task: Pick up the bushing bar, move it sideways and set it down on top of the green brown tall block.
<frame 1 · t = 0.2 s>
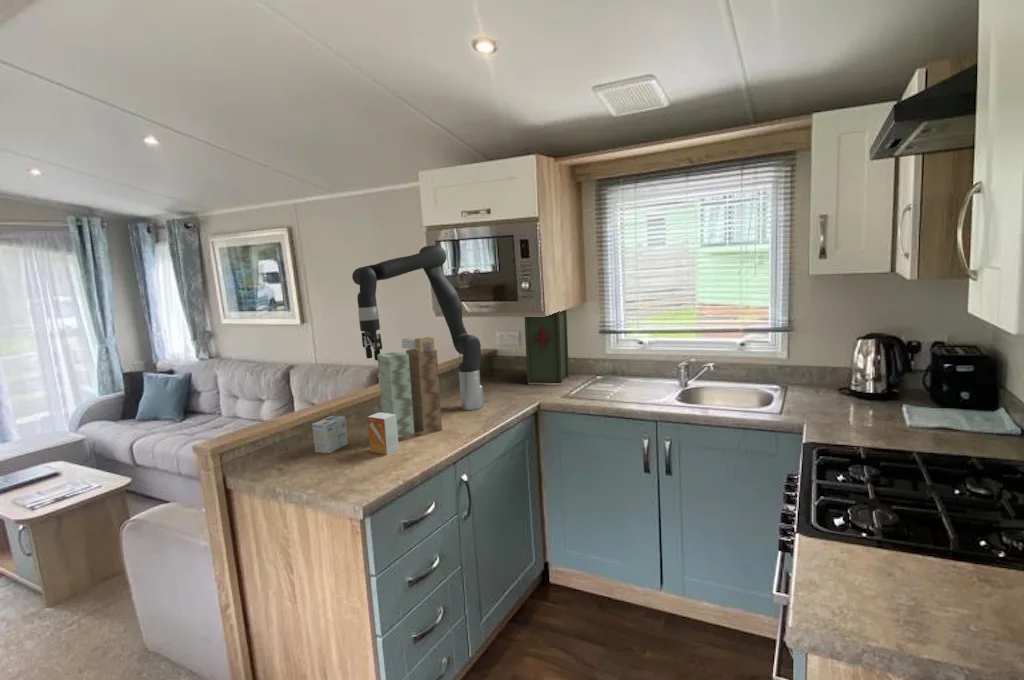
hand: (373, 359, 213), 29 cm above the worktop, tool pointing down, fingers open, 8 cm apart
first aid box: (548, 381, 290), on the worktop
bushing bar: (416, 349, 212), point 32 cm above the worktop, touching green brown tall block
green brown tall block: (413, 433, 210), on the worktop
small box: (384, 451, 191), on the worktop
light bulb box: (331, 448, 196), on the worktop
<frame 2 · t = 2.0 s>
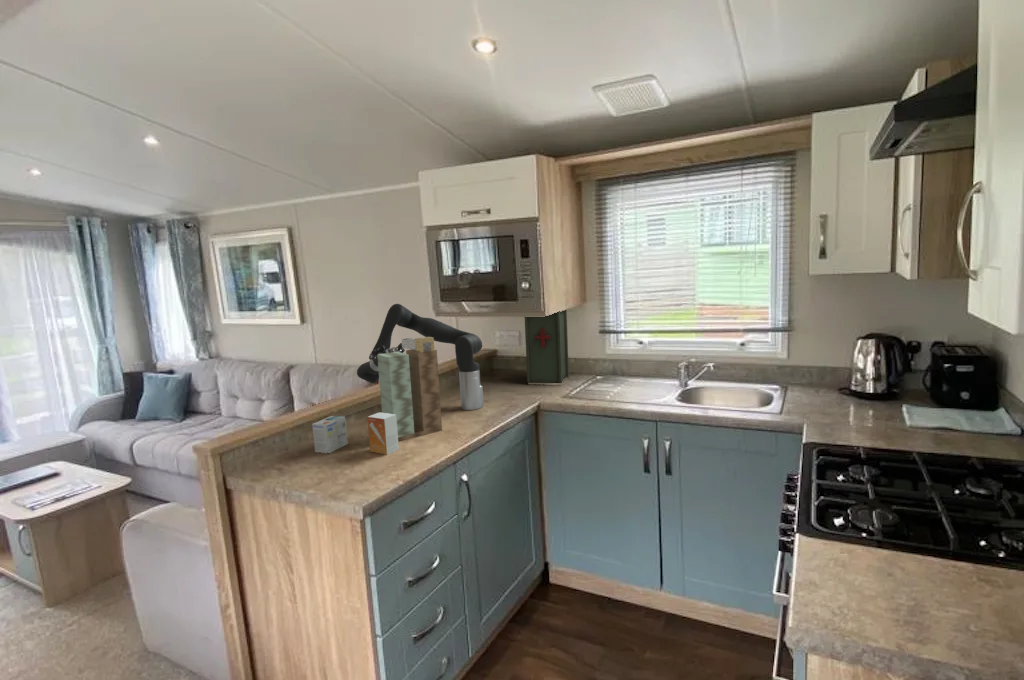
hand: (393, 346, 231), 31 cm above the worktop, tool pointing upward, fingers open, 8 cm apart
nothing on the worktop moved.
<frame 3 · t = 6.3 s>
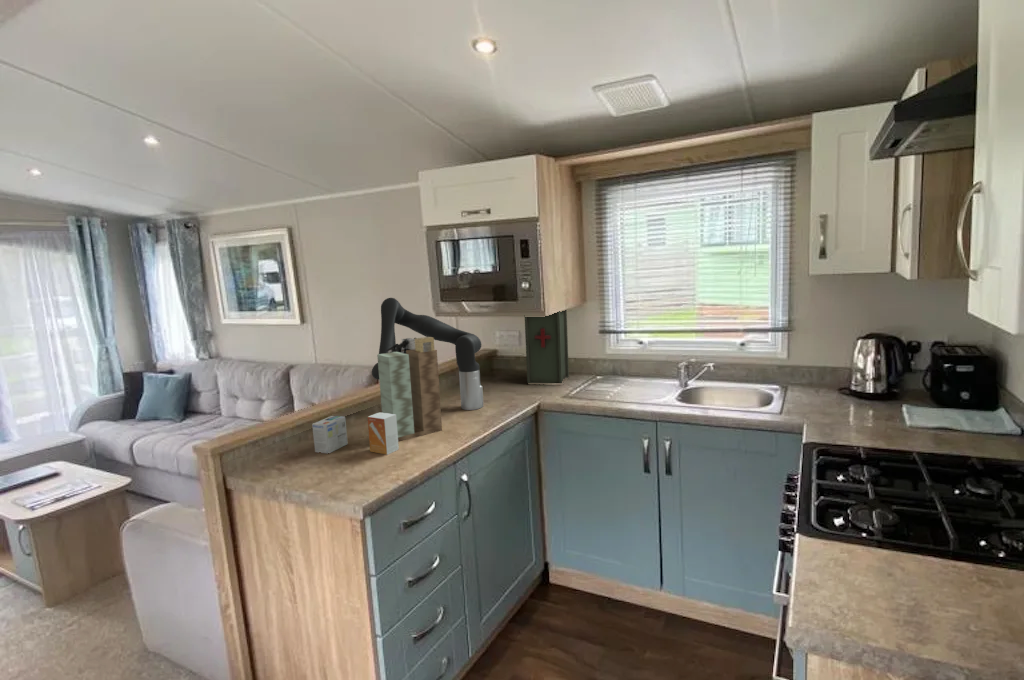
hand: (411, 340, 214), 35 cm above the worktop, tool pointing upward, fingers closed on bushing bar, 3 cm apart
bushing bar: (416, 349, 212), point 32 cm above the worktop, touching gripper, green brown tall block
everything else where it was.
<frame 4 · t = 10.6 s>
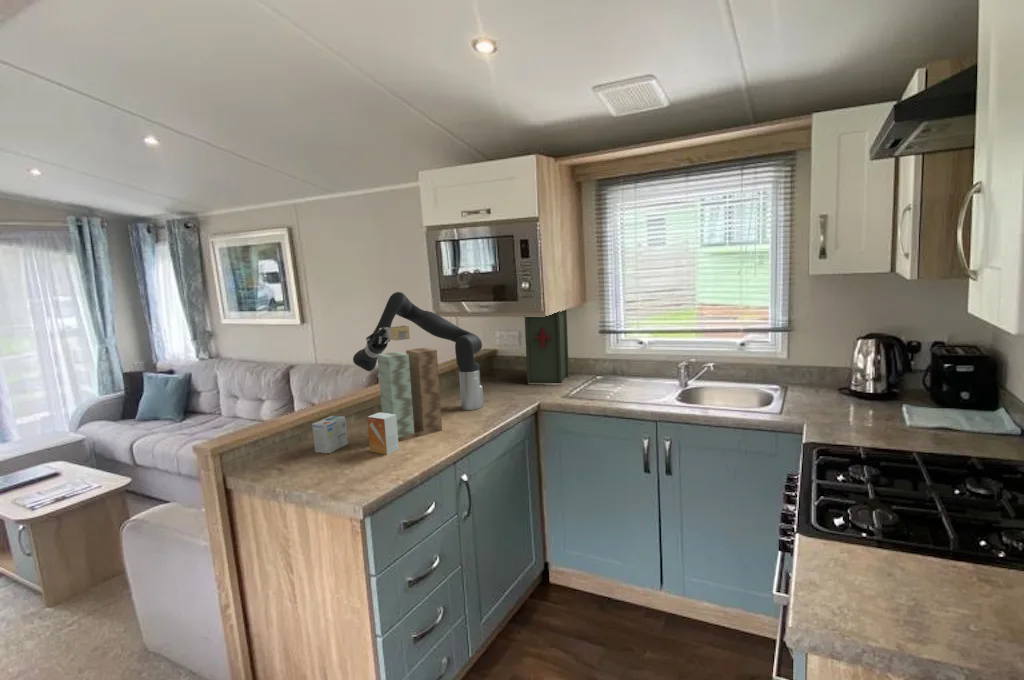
hand: (388, 329, 222), 39 cm above the worktop, tool pointing upward, fingers closed on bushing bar, 3 cm apart
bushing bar: (393, 337, 220), point 36 cm above the worktop, touching gripper
everything else where it was.
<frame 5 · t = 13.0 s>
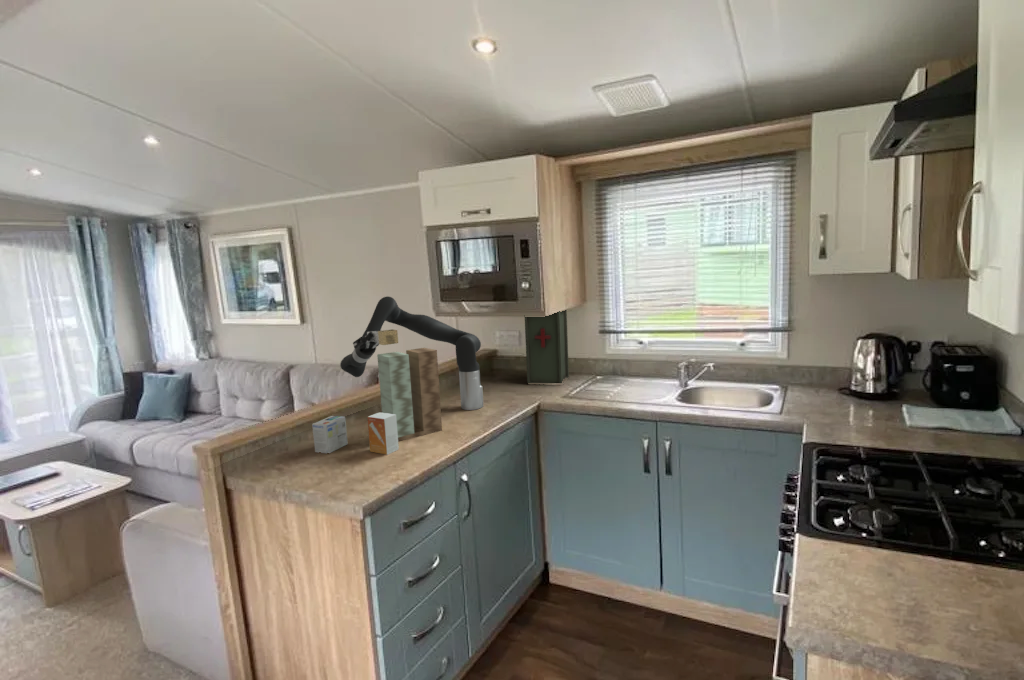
hand: (376, 333, 211), 39 cm above the worktop, tool pointing upward, fingers closed on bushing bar, 3 cm apart
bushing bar: (381, 342, 209), point 36 cm above the worktop, touching gripper
everything else where it was.
when the fingers open (37 cm above the worktop, at t = 15.2 s): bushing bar drops 1 cm, resting on green brown tall block.
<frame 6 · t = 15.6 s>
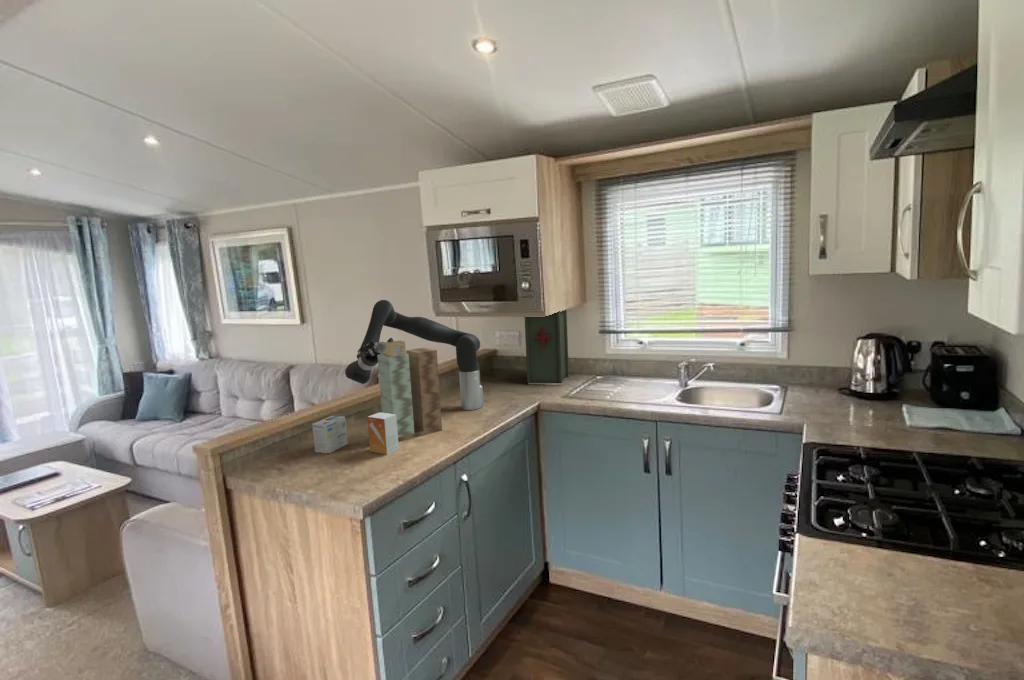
hand: (382, 341, 207), 36 cm above the worktop, tool pointing upward, fingers open, 7 cm apart
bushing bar: (388, 353, 205), point 32 cm above the worktop, touching green brown tall block
everything else where it was.
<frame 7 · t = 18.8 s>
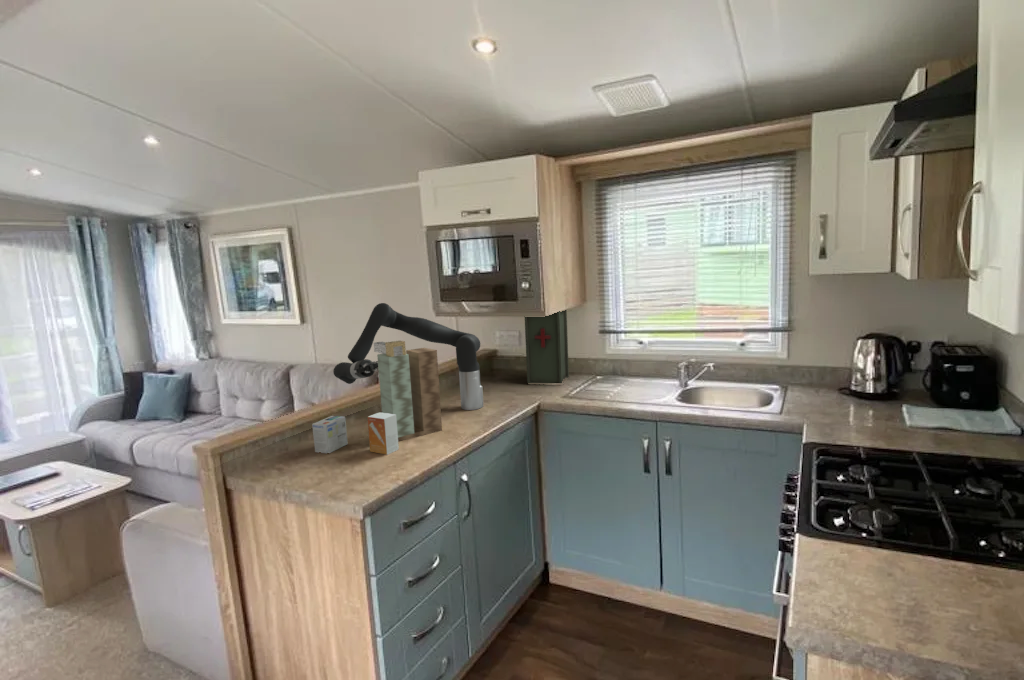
hand: (380, 364, 217), 26 cm above the worktop, tool horizontal, fingers open, 8 cm apart
nothing on the worktop moved.
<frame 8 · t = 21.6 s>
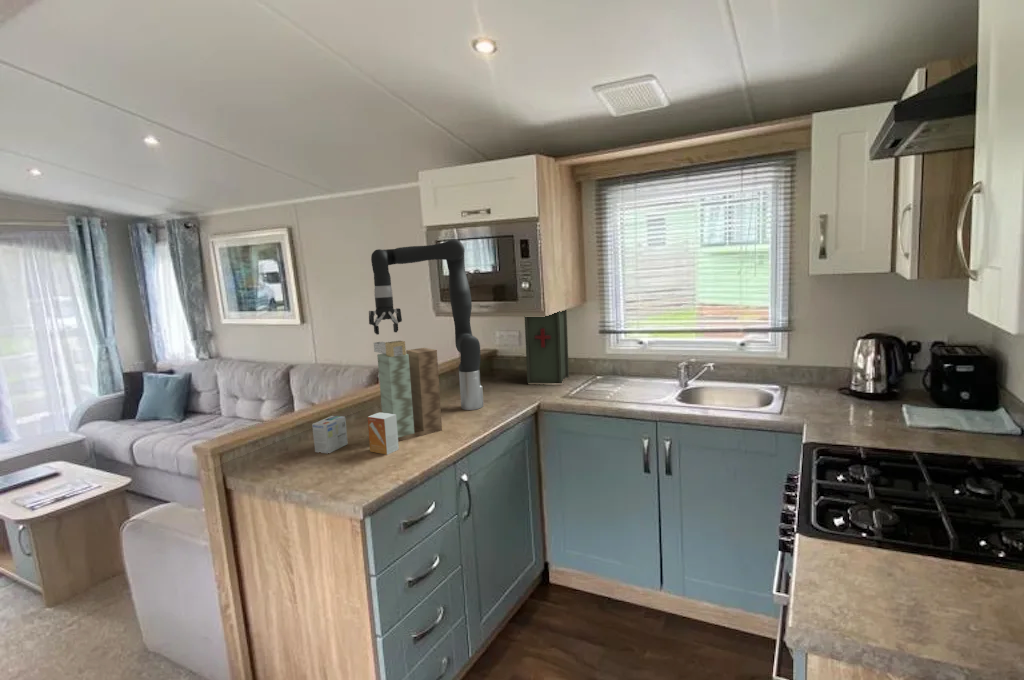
hand: (386, 333, 235), 36 cm above the worktop, tool pointing down, fingers open, 8 cm apart
nothing on the worktop moved.
at the end: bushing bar inside the target area (0.2 cm from its centre), point 32.0 cm above the worktop; the gripper is holding nothing; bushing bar tilted 0° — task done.
